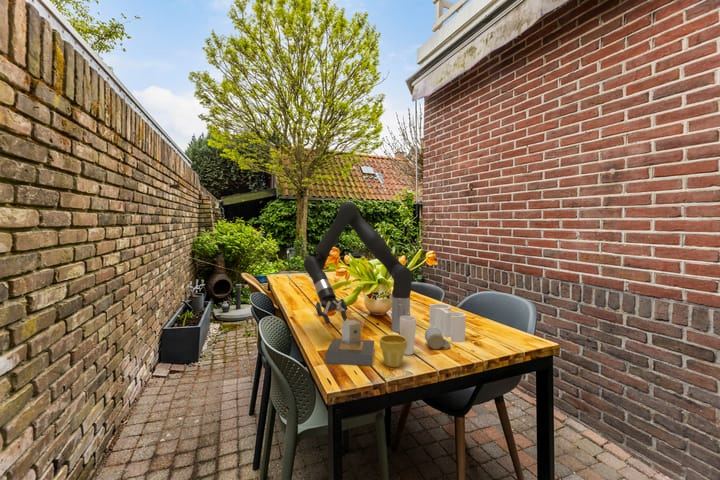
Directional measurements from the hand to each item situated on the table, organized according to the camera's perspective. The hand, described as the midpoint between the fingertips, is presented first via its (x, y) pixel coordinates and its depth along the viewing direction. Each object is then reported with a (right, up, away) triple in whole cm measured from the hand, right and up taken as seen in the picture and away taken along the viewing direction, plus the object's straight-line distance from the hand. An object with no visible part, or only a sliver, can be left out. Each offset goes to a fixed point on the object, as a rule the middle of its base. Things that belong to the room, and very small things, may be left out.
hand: (337, 321), depth 141 cm
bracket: (+54, -11, +19) cm, 58 cm away
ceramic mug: (+44, -12, +1) cm, 46 cm away
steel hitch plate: (+6, -11, -11) cm, 17 cm away
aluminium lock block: (+6, -7, -10) cm, 14 cm away
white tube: (+30, -12, -7) cm, 33 cm away
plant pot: (+23, -12, -17) cm, 31 cm away
